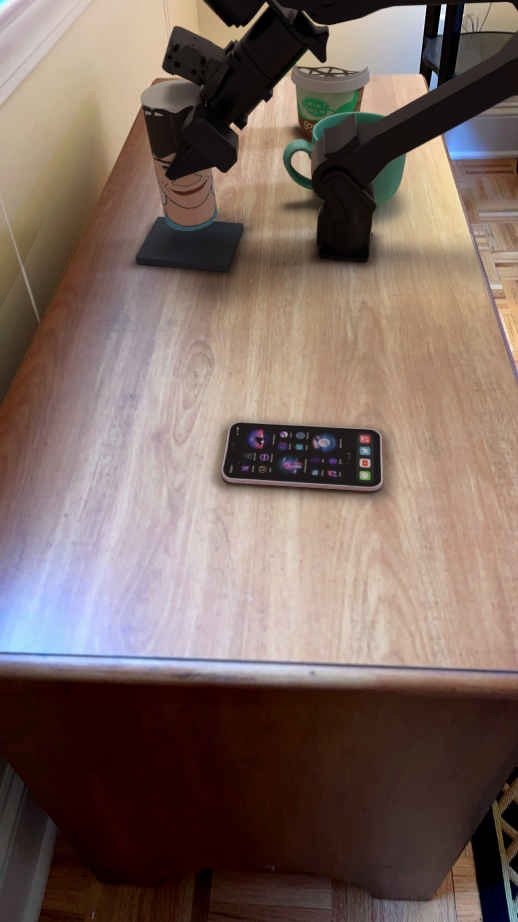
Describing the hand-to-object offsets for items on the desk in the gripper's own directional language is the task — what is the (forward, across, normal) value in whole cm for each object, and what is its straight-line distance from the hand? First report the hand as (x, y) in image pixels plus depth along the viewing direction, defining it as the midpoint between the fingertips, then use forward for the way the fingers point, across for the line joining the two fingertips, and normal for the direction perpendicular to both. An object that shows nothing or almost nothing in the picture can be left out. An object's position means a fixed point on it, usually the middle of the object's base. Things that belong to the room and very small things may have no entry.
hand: (171, 163), depth 82 cm
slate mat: (+7, 0, +9) cm, 11 cm away
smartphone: (-3, +37, +19) cm, 41 cm away
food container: (-5, -32, +22) cm, 39 cm away
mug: (-7, -12, +23) cm, 27 cm away
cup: (+4, 0, +6) cm, 7 cm away
